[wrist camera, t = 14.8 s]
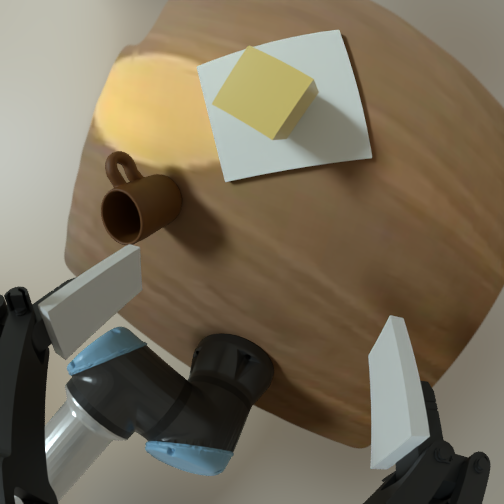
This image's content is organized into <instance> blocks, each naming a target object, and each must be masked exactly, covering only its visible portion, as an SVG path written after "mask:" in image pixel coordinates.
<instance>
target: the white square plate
mask: <svg viewBox="0 0 504 504" xmlns="http://www.w3.org/2000/svg"><path fill="white" fill-rule="evenodd" d="M253 48H256V49H258V50H260V51H262V52H264V53H266V54H268V55H270V56H273V57H275V58H277V59H278V60H280V61H282V62H284V63H286V64H288V65H290V66H292V67H294V68H295V69H297V70H299V71H301V72H303V73H304V74H306V75H308V76H310V77H311V78H313V79H314V81H315V83H316V86H317V89H318V91H319V93H318V94H317V96H316V97H315V99H314V100H313V101H312V103H311V104H310V106H309V107H308V109H307V110H306V111H305V113H304V114H303V116H302V117H301V119H300V120H299V122H298V123H297V125H296V126H295V127H294V129H293V130H292V132H291V133H290V135H289V136H288V138H287V139H282V140H271V139H270V138H268V137H266V136H265V135H263V134H262V133H260V132H258V131H257V130H255V129H254V128H252V127H250V126H249V125H247V124H245V123H244V122H242V121H240V120H239V119H237V118H235V117H234V116H232V115H230V114H228V113H227V112H225V111H223V110H221V109H219V108H218V107H216V106H214V105H212V102H213V101H214V99H215V97H216V96H217V94H218V92H219V90H220V89H221V87H222V86H223V84H224V82H225V81H226V79H227V77H228V76H229V74H230V73H231V71H232V69H233V68H234V66H235V65H236V63H237V62H238V60H239V59H240V57H241V56H242V54H243V53H244V51H245V50H246V49H245V50H242V51H239V52H235V53H232V54H229V55H226V56H224V57H221V58H218V59H215V60H213V61H210V62H207V63H205V64H202V65H200V66H197V70H198V74H199V78H200V83H201V87H202V91H203V95H204V99H205V103H206V107H207V111H208V115H209V119H210V123H211V127H212V131H213V135H214V139H215V143H216V147H217V151H218V155H219V159H220V163H221V167H222V171H223V175H224V179H225V182H228V181H233V180H237V179H242V178H247V177H252V176H257V175H262V174H268V173H273V172H278V171H284V170H290V169H296V168H302V167H308V166H315V165H321V164H328V163H336V162H343V161H351V160H360V159H369V158H372V153H371V147H370V142H369V136H368V131H367V126H366V122H365V117H364V113H363V108H362V104H361V100H360V96H359V92H358V88H357V85H356V81H355V77H354V74H353V70H352V67H351V64H350V61H349V57H348V54H347V51H346V48H345V45H344V42H343V39H342V37H341V34H340V31H339V30H332V31H325V32H318V33H312V34H307V35H301V36H296V37H291V38H287V39H282V40H278V41H274V42H270V43H266V44H262V45H259V46H255V47H253Z"/></svg>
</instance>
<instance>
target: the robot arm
mask: <svg viewBox="0 0 504 504" xmlns="http://www.w3.org/2000/svg"><path fill="white" fill-rule="evenodd" d="M140 291H142V279H141V260H140V247H137V246H134V245H131V244H129V245H127V246H125V247H124V248H122V249H120V250H119V251H117V252H116V253H114V254H112V255H111V256H109V257H108V258H106V259H104V260H103V261H101V262H100V263H98V264H97V265H95V266H93V267H92V268H90V269H89V270H87V271H86V272H84V273H83V274H81V275H80V276H78V277H76V278H73V279H70V280H67V281H66V282H64V283H63V284H61V285H60V286H59V287H57V288H55V289H54V291H51V292H49V293H48V294H47V295H45V296H44V297H43V298H41V299H40V300H38V301H37V302H35V303H34V304H32V303H31V300H30V297H29V294H28V291H27V289H26V288H24V287H15V288H12V289H10V290H9V291H8V292H7V293H6V294H5V295H4V297H5V299H4V297H3V296H2V295H0V504H58V501H60V500H61V498H62V497H63V496H64V495H65V494H66V493H67V492H68V491H69V489H70V488H71V487H72V486H73V485H74V484H75V483H76V482H77V480H78V479H79V478H80V477H81V476H82V475H83V474H84V473H85V471H86V470H87V469H88V468H89V467H90V466H91V464H92V463H93V462H94V461H95V460H96V459H97V458H98V457H99V455H100V454H101V453H102V452H103V451H104V450H105V448H106V447H107V446H108V445H109V444H110V443H111V442H112V441H113V440H128V438H129V437H130V436H131V435H132V434H133V433H134V432H137V433H139V434H140V435H142V436H143V437H144V438H146V439H147V440H148V442H146V447H145V449H146V451H147V452H148V453H149V454H151V455H152V456H153V457H154V458H156V459H158V460H159V461H162V462H164V463H166V464H168V465H170V466H172V467H175V468H178V469H180V470H183V471H187V472H190V473H194V474H199V475H206V476H214V475H218V474H220V473H222V472H223V471H224V469H225V467H226V466H227V464H228V462H229V460H230V459H231V457H232V456H233V451H234V449H235V447H236V445H237V442H238V440H239V437H240V435H241V432H242V429H243V427H244V424H245V422H246V419H247V417H248V414H249V411H250V409H251V407H252V405H253V404H254V403H255V402H256V401H257V400H258V399H259V398H260V397H261V396H262V394H263V393H264V392H265V391H266V390H267V389H268V387H269V386H270V384H271V381H272V378H273V374H274V368H273V364H272V362H271V360H270V358H269V357H268V355H267V354H266V353H265V352H264V351H263V350H262V349H261V348H259V347H258V346H257V345H255V344H254V343H252V342H250V341H248V340H246V339H244V338H241V337H238V336H235V335H230V334H213V335H210V336H207V337H205V338H204V339H203V340H202V341H201V342H200V343H199V345H198V346H197V348H196V349H195V352H194V354H193V359H192V365H191V371H190V376H189V379H188V380H186V379H185V378H184V377H183V376H181V375H180V374H179V373H178V372H176V371H175V370H174V369H173V368H172V367H170V366H169V365H168V364H167V363H166V362H165V361H164V360H162V359H161V358H160V357H159V356H158V355H157V354H156V353H154V352H153V351H152V350H151V349H150V348H149V347H148V346H147V343H145V342H143V341H141V340H140V339H139V338H138V337H137V336H135V335H134V334H133V333H132V332H131V331H130V330H129V329H127V328H124V327H116V328H114V329H112V330H110V331H108V332H106V333H105V334H104V335H102V336H100V337H99V338H98V339H96V340H95V341H94V342H93V343H91V344H90V345H89V346H87V347H86V348H85V349H84V350H83V351H81V352H80V353H79V354H78V355H77V356H76V357H75V358H74V360H72V362H70V363H69V364H68V366H67V370H68V372H69V375H71V376H72V378H71V379H70V380H69V382H68V383H67V384H66V385H65V388H66V395H67V400H66V402H65V403H64V404H63V405H62V407H60V409H59V410H58V411H57V412H56V413H55V415H54V416H53V417H52V418H51V419H50V421H49V422H48V423H47V424H46V425H45V394H46V380H47V369H48V360H49V348H48V346H49V345H50V344H52V345H53V348H54V350H55V352H56V353H57V354H58V355H60V356H61V357H62V358H64V359H65V360H66V359H67V358H68V357H69V356H70V355H72V354H73V352H75V351H76V350H77V349H78V348H79V347H80V346H81V345H82V344H83V343H84V342H85V341H86V340H87V339H88V338H90V336H92V335H93V334H94V333H95V332H96V331H97V330H98V329H99V328H100V327H101V326H102V325H104V324H105V323H106V322H107V321H108V320H109V319H110V318H111V317H112V316H113V315H115V314H116V313H117V312H118V311H119V310H120V309H121V308H122V307H123V306H125V305H126V304H127V303H128V302H129V301H130V300H131V299H132V298H134V297H135V296H136V295H137V294H138V293H139V292H140ZM5 300H6V302H7V305H6V302H5ZM368 357H369V370H370V387H371V420H372V437H371V469H389V468H390V467H391V466H393V465H394V464H396V471H395V472H393V473H392V474H390V475H389V476H387V477H386V478H384V479H383V480H382V481H383V482H384V481H385V482H384V483H383V484H382V485H381V486H380V487H379V488H378V489H377V490H376V492H375V493H374V494H372V496H370V498H368V499H367V500H366V501H365V503H363V504H482V501H483V497H484V494H485V490H486V486H487V482H488V477H489V473H490V460H489V458H488V456H487V455H486V454H485V453H483V452H476V453H474V454H473V455H471V456H470V457H469V458H467V457H464V456H461V455H457V454H455V452H454V449H453V447H452V446H451V445H450V444H449V443H448V442H446V441H444V440H443V436H442V430H441V424H440V418H439V413H438V411H437V409H438V408H437V404H436V403H435V402H436V399H435V395H434V391H433V389H432V388H431V386H430V384H429V383H428V382H425V381H420V378H419V374H418V369H417V365H416V361H415V357H414V353H413V350H412V346H411V342H410V339H409V335H408V332H407V328H406V325H405V322H404V319H403V318H400V317H396V316H392V315H390V316H389V318H388V320H387V322H386V324H385V326H384V328H383V330H382V332H381V334H380V336H379V338H378V339H377V341H376V343H375V345H374V347H373V348H372V350H371V352H370V354H369V356H368Z"/></svg>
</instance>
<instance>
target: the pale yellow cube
mask: <svg viewBox="0 0 504 504" xmlns="http://www.w3.org/2000/svg"><path fill="white" fill-rule="evenodd" d="M318 93H319V91H318V89H317V86H316V83H315V81H314V79H313V78H311V77H310V76H308V75H306V74H304V73H303V72H301V71H299V70H297V69H295V68H294V67H292V66H290V65H288V64H286V63H284V62H282V61H280V60H278V59H277V58H275V57H273V56H270V55H268V54H266V53H264V52H262V51H260V50H258V49H256V48H253V47H251V46H249V45H248V47H247V48H246V50H245V51H244V53H243V54H242V56H241V57H240V59H239V60H238V62H237V63H236V65H235V66H234V68H233V69H232V71H231V73H230V74H229V76H228V77H227V79H226V81H225V82H224V84H223V86H222V87H221V89H220V90H219V92H218V94H217V96H216V97H215V99H214V101H213V102H212V105H214V106H216V107H218V108H219V109H221V110H223V111H225V112H227V113H228V114H230V115H232V116H234V117H235V118H237V119H239V120H240V121H242V122H244V123H245V124H247V125H249V126H250V127H252V128H254V129H255V130H257V131H258V132H260V133H262V134H263V135H265V136H266V137H268V138H270V139H271V140H282V139H287V138H288V136H289V135H290V133H291V132H292V130H293V129H294V127H295V126H296V125H297V123H298V122H299V120H300V119H301V117H302V116H303V114H304V113H305V111H306V110H307V109H308V107H309V106H310V104H311V103H312V101H313V100H314V99H315V97H316V96H317V94H318Z"/></svg>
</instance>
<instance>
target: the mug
mask: <svg viewBox="0 0 504 504" xmlns="http://www.w3.org/2000/svg"><path fill="white" fill-rule="evenodd" d="M117 163H119V164H121V165H122V166H123V168H124V170H125V174H126V176H127V178H128V179H129V181H130V182H128V183H126V181H125V180H124V178H123V177H122V175H121V173H120V172H119V170H118V168H117ZM105 170H106V175H107V177H108V178H109V180H110V182H111V183H112V185H113V187H114V188H113V189H112V190H110V191H109V192H108V193H107V194H106V195H105V196H104V198H103V201H102V205H101V216H102V221H103V224H104V226H105V229H106V230H107V232H108V233H109V235H110V236H111V237H112V238H113V239H114V240H115V241H116V242H118V243H120V244H123V245H129V244H131V245H133V244H135V243H137V242H139V241H141V240H143V239H145V238H147V237H148V236H150V235H151V234H153V233H155V232H156V231H158V230H159V229H161V228H162V227H164V226H166V225H167V224H169V223H170V222H172V221H173V220H174V219H175V218H176V217H177V216H178V214H179V212H180V210H181V204H182V199H181V193H180V191H179V188H178V187H177V185H176V184H175V182H174V181H173V180H171V179H170V178H169V177H167V176H165V175H158V174H157V175H151V176H148V177H143V176H142V175H141V173H140V172H139V171H138V170H137V167H136V164H135V162H134V160H133V159H132V158H131V157H130V156H129V155H128V154H127V153H124V152H121V151H117V152H114V153H112V154H111V155H110V156H109V157H108V158H107V160H106V163H105Z"/></svg>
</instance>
